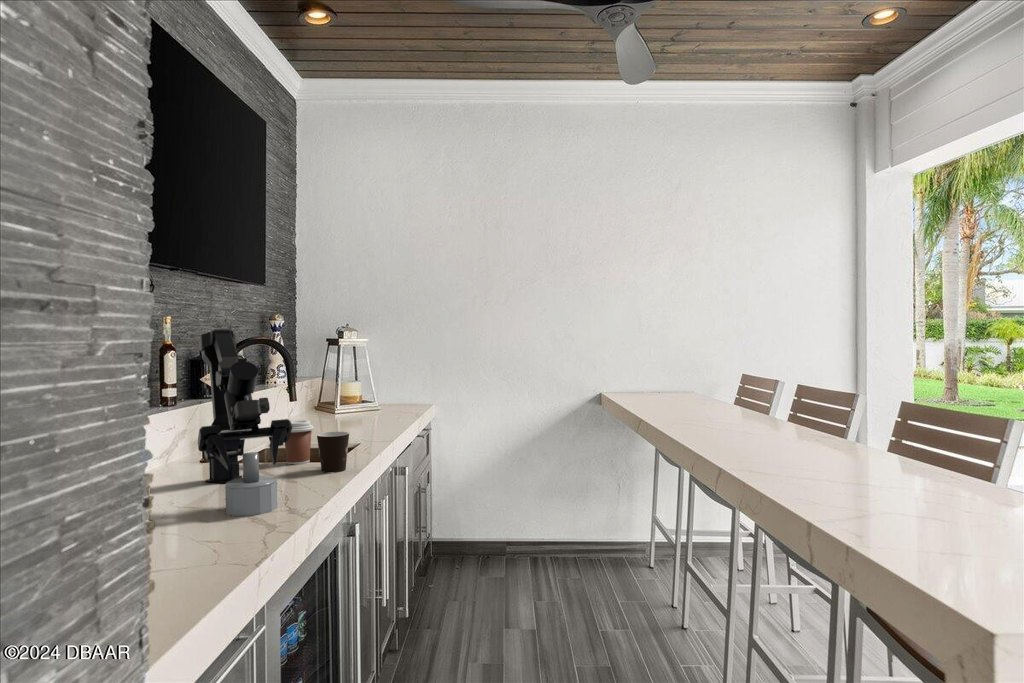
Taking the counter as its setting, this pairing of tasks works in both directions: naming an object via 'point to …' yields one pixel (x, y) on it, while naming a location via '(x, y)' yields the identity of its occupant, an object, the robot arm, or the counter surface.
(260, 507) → the slate cloche
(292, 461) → the coffee cup
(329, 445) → the coffee mug
